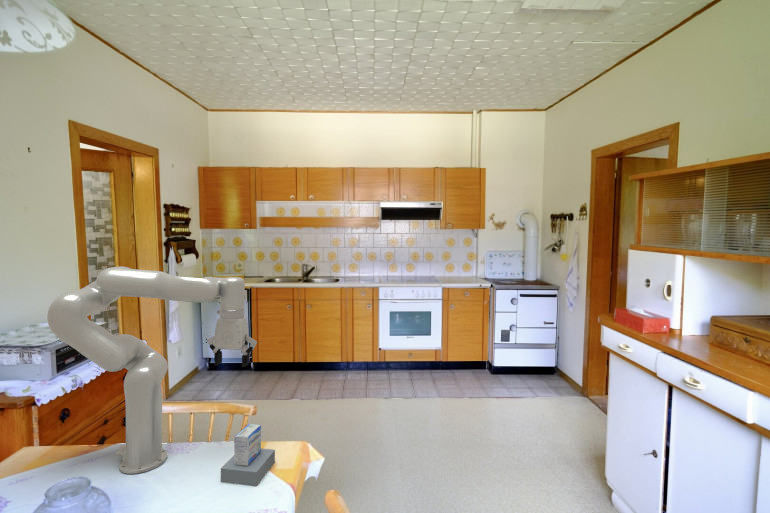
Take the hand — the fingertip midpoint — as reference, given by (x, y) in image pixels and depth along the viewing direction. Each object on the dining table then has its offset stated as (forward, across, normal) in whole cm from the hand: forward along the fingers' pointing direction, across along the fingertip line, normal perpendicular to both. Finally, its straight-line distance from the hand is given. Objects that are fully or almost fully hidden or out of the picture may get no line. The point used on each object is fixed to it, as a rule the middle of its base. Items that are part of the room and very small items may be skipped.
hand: (231, 365), depth 123 cm
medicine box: (+24, +12, -11) cm, 29 cm away
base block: (+28, +12, -11) cm, 33 cm away
